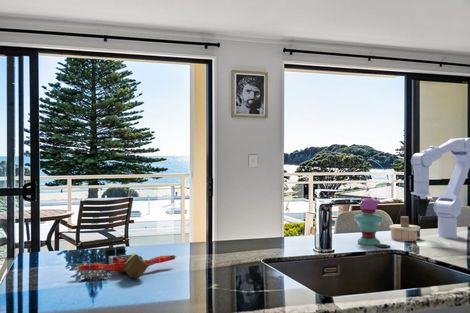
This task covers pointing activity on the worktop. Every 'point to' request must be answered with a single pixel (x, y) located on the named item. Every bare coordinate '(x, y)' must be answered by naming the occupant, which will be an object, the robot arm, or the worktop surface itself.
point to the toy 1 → (125, 262)
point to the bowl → (404, 235)
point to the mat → (433, 244)
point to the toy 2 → (368, 222)
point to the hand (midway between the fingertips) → (421, 215)
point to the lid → (404, 225)
